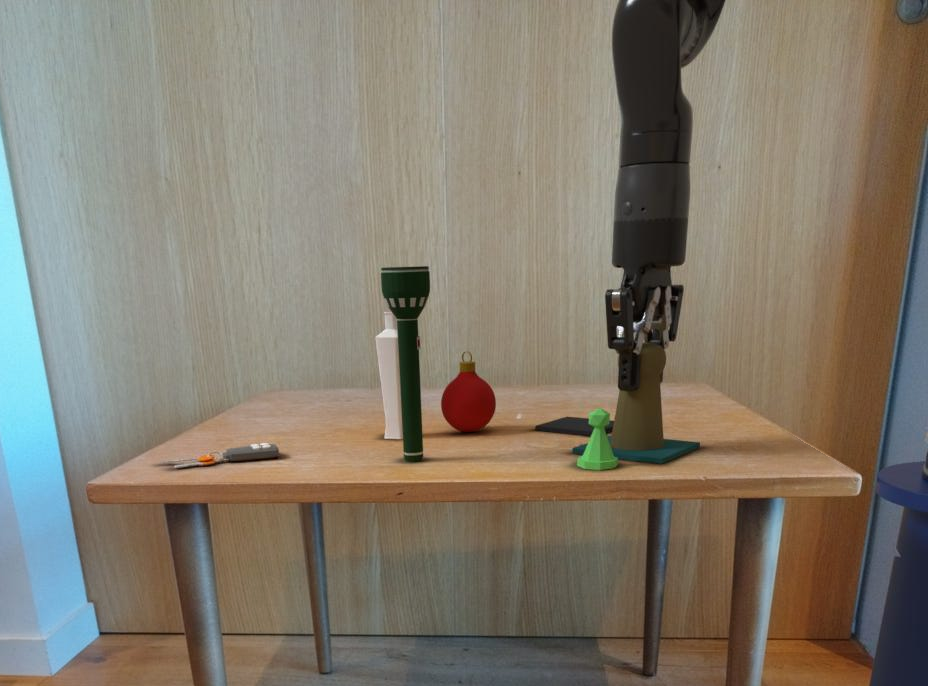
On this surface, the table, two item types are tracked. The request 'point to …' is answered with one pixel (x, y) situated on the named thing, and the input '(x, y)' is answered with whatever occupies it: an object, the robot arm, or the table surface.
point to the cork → (641, 406)
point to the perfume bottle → (390, 376)
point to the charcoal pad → (572, 426)
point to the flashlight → (408, 346)
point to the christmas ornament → (468, 400)
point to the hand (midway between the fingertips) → (640, 386)
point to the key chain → (235, 455)
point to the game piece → (598, 444)
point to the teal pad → (650, 451)
